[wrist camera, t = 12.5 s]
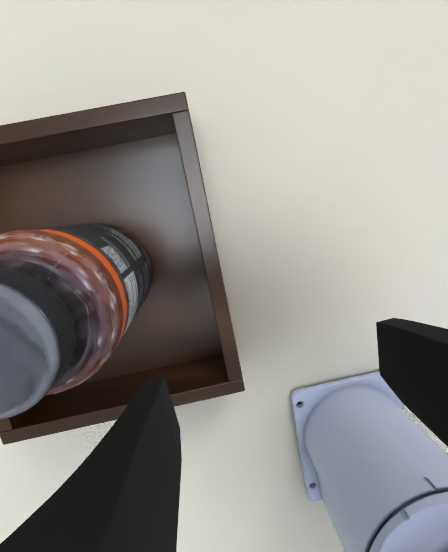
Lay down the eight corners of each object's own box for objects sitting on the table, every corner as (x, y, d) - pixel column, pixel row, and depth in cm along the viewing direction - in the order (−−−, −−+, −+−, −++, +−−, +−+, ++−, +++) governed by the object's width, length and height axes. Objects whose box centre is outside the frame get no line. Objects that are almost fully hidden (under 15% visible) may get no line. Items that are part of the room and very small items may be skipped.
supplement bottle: (41, 296, 19) (-188, 414, 8) (73, 205, 18) (-132, 190, 7) (134, 331, 20) (50, 482, 9) (169, 246, 19) (127, 292, 8)
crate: (236, 358, 21) (245, 391, 17) (40, 401, 21) (2, 445, 17) (188, 117, 18) (185, 91, 14) (-48, 162, 17) (-119, 147, 13)
